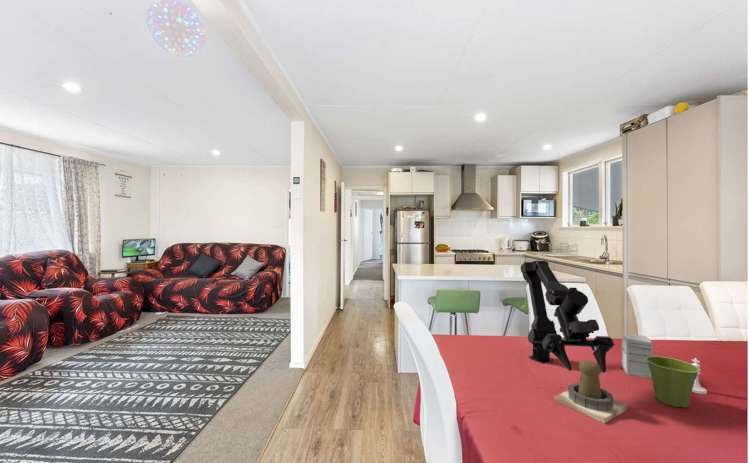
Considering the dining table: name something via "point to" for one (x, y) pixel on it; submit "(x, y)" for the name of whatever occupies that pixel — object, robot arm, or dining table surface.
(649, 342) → the supplement box
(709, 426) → the dining table surface
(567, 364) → the robot arm
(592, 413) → the collar board
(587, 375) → the cork
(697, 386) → the chess piece
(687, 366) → the plant pot
